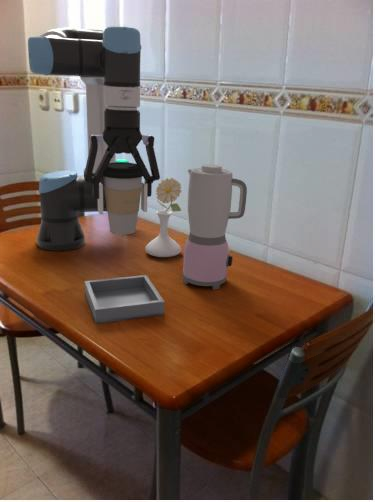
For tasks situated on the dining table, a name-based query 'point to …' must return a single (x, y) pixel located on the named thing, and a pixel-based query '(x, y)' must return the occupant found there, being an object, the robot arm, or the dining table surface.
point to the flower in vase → (165, 220)
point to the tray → (123, 299)
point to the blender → (210, 224)
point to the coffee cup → (122, 196)
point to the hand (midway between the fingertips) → (122, 211)
